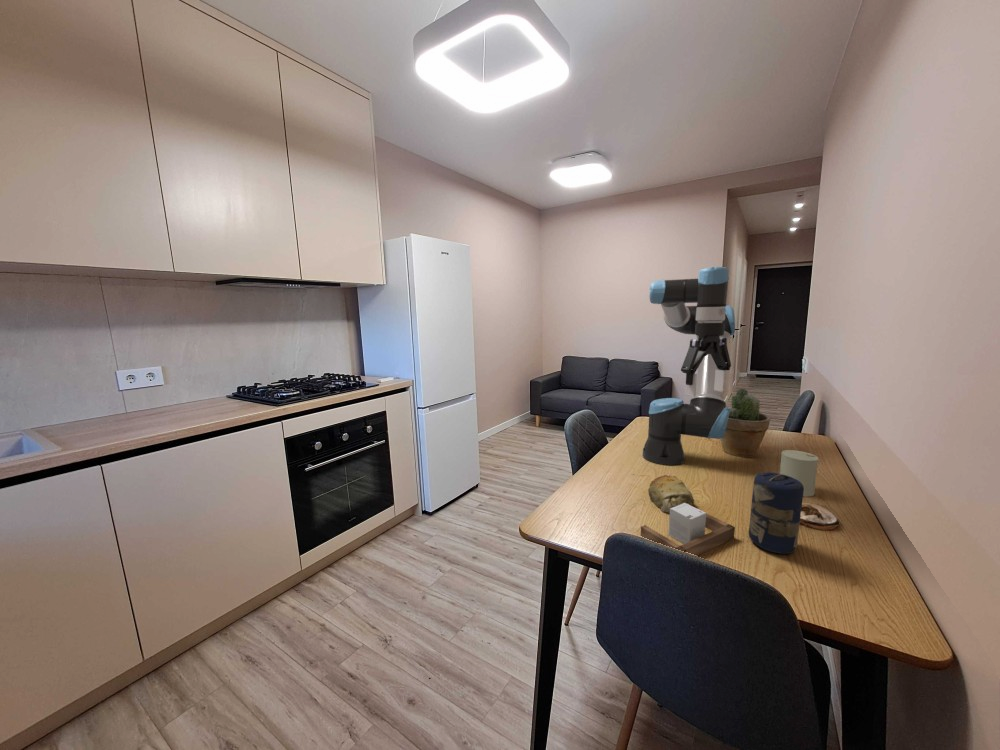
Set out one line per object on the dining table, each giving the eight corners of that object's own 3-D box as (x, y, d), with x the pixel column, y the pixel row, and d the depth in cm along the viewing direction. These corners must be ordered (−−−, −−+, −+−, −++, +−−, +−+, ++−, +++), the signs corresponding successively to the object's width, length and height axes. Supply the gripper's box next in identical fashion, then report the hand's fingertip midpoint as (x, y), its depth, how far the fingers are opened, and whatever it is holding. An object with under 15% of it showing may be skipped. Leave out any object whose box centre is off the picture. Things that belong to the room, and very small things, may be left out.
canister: (738, 534, 95) (745, 467, 93) (773, 532, 96) (781, 465, 93) (768, 558, 86) (776, 484, 83) (807, 556, 87) (816, 482, 84)
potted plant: (778, 460, 143) (784, 396, 139) (728, 461, 143) (734, 396, 139) (747, 444, 161) (752, 387, 157) (703, 444, 161) (707, 387, 157)
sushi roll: (836, 513, 106) (838, 499, 105) (851, 541, 93) (853, 525, 92) (771, 501, 113) (773, 488, 112) (777, 525, 100) (779, 510, 100)
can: (821, 497, 114) (826, 460, 112) (787, 495, 116) (791, 458, 114) (803, 484, 123) (808, 449, 121) (772, 482, 125) (775, 447, 123)
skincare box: (682, 528, 99) (684, 501, 98) (705, 539, 94) (707, 512, 92) (667, 535, 96) (669, 508, 95) (689, 547, 91) (691, 519, 89)
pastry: (656, 489, 121) (658, 465, 120) (699, 501, 113) (701, 476, 112) (639, 505, 111) (640, 479, 110) (684, 520, 103) (686, 492, 102)
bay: (640, 537, 95) (640, 526, 94) (691, 517, 104) (692, 506, 104) (681, 563, 85) (681, 551, 84) (734, 538, 94) (735, 526, 94)
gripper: (694, 323, 101) (689, 400, 104) (748, 321, 113) (742, 390, 116) (670, 322, 108) (666, 395, 111) (723, 321, 119) (718, 387, 123)
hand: (705, 393), depth 114 cm, fingers open, 13 cm apart
